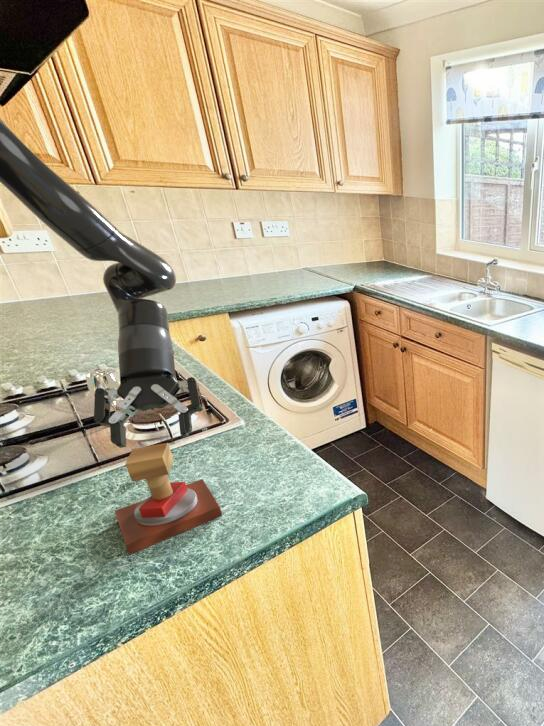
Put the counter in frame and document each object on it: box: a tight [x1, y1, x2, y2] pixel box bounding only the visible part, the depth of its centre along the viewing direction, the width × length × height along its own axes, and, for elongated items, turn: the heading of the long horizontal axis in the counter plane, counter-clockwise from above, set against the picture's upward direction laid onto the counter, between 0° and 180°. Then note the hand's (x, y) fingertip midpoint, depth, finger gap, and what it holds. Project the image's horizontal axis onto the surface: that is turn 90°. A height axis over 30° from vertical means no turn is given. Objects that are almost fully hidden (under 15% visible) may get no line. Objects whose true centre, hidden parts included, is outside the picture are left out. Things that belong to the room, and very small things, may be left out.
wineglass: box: [86, 368, 129, 426], centre depth 92 cm, size 6×6×12 cm
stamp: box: [125, 442, 198, 526], centre depth 66 cm, size 8×8×11 cm
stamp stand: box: [114, 478, 223, 555], centre depth 69 cm, size 12×10×2 cm
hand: (153, 440), depth 71 cm, fingers open, 8 cm apart
